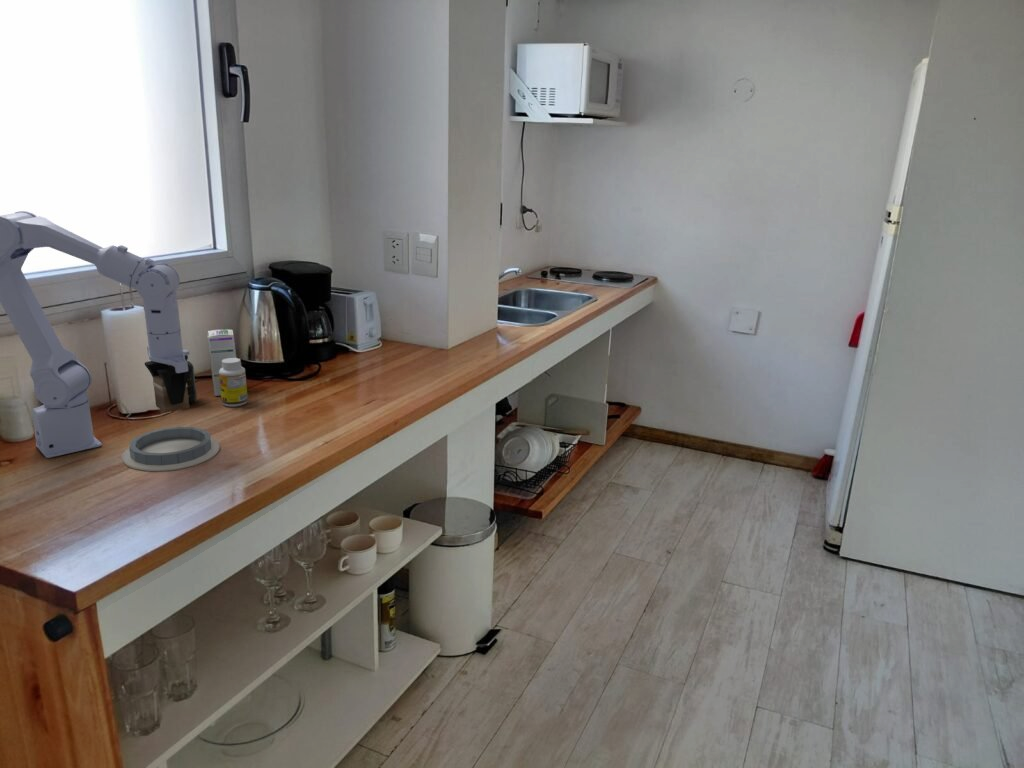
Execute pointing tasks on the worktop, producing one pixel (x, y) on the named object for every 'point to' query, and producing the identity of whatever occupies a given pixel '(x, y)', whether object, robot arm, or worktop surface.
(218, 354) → the syrup box
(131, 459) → the round tray
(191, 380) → the supplement bottle
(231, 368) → the supplement bottle
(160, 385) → the walnut bead block
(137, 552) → the worktop surface
